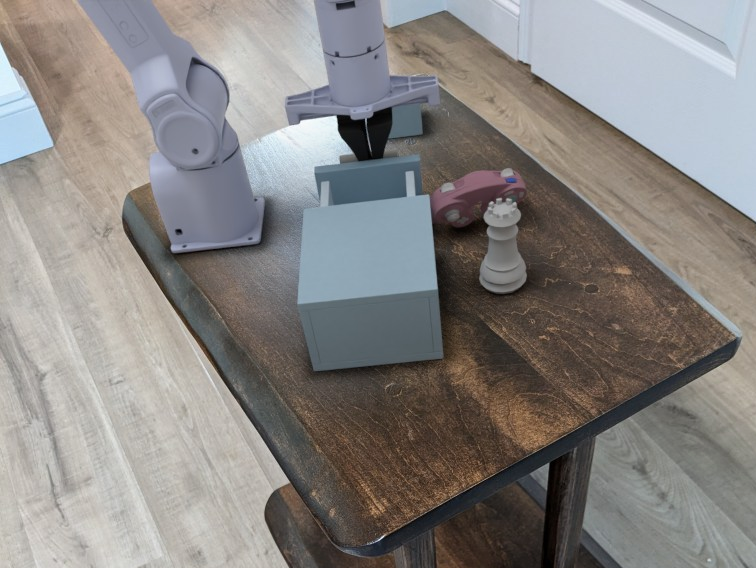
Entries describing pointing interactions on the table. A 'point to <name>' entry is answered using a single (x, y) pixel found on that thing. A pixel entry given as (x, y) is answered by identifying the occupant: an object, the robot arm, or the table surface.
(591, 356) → the table surface
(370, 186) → the freezer drawer
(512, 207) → the rook chess piece
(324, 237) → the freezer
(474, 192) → the pink toy car
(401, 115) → the ice block
